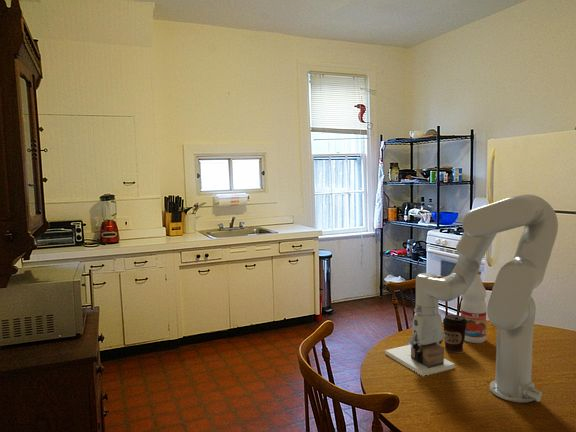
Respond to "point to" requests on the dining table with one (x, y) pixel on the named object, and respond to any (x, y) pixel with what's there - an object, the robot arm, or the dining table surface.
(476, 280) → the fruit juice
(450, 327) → the coffee cup
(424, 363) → the block
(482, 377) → the dining table surface
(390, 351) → the board
